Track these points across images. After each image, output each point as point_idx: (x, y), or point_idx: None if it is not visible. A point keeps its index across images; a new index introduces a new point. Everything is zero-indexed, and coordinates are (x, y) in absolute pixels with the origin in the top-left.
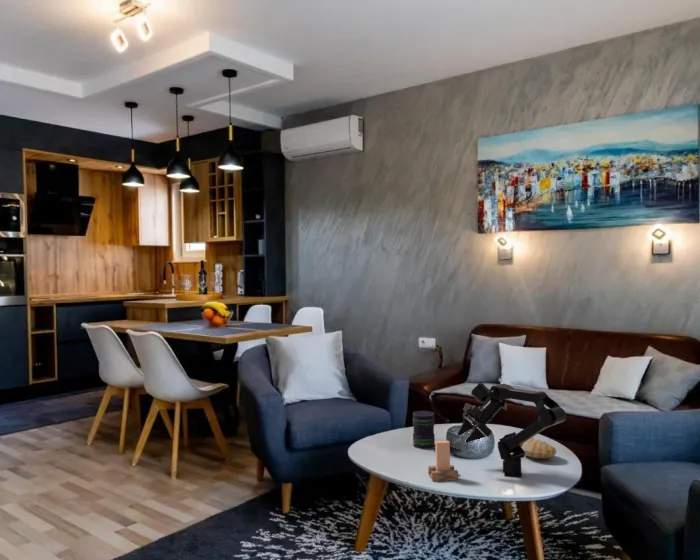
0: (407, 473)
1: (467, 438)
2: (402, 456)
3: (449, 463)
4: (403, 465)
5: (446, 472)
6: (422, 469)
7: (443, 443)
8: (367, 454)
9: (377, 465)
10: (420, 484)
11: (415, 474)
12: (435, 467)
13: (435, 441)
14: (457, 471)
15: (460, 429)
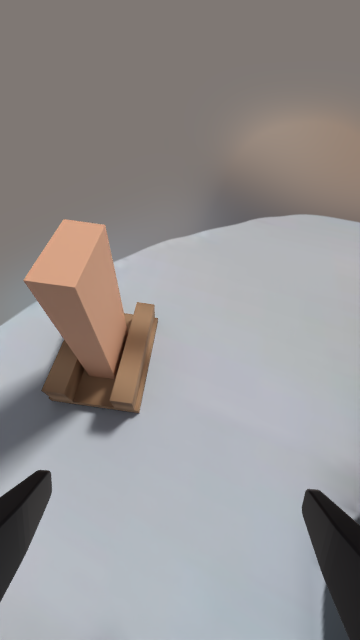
0: (179, 274)
1: (1, 500)
2: (332, 304)
3: (74, 351)
4: (247, 284)
5: (63, 342)
6: (203, 320)
7: (47, 251)
8: (338, 237)
9: (253, 235)
10: None
11: (165, 289)
12: (131, 322)
13: (103, 225)
14: (45, 389)
15: (357, 547)
